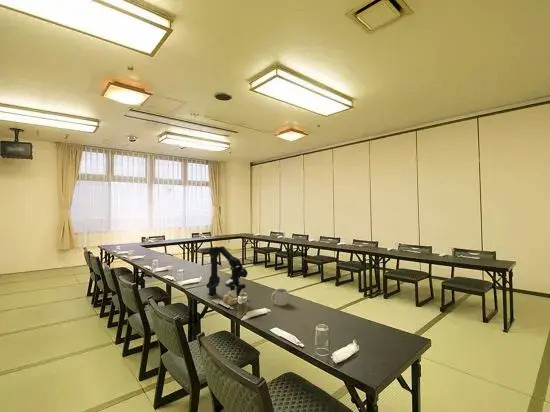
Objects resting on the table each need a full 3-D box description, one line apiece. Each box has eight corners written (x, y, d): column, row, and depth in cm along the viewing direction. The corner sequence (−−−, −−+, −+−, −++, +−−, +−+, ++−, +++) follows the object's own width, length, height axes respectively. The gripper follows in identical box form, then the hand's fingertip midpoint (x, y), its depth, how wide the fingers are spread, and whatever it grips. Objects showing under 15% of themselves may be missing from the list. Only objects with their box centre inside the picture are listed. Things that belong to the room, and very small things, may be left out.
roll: (232, 299, 207) (232, 291, 207) (227, 298, 212) (227, 290, 212) (242, 296, 215) (242, 289, 215) (238, 295, 219) (238, 287, 219)
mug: (288, 302, 209) (288, 289, 209) (284, 306, 200) (284, 293, 200) (276, 300, 213) (276, 287, 214) (270, 304, 205) (270, 291, 205)
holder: (222, 301, 211) (222, 295, 211) (239, 296, 223) (239, 290, 223) (231, 305, 203) (231, 298, 203) (247, 299, 215) (247, 293, 215)
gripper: (219, 275, 214) (219, 295, 214) (234, 279, 201) (234, 301, 201) (231, 272, 222) (231, 292, 222) (246, 277, 209) (245, 297, 209)
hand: (235, 295), depth 213 cm, fingers closed on roll, 6 cm apart
